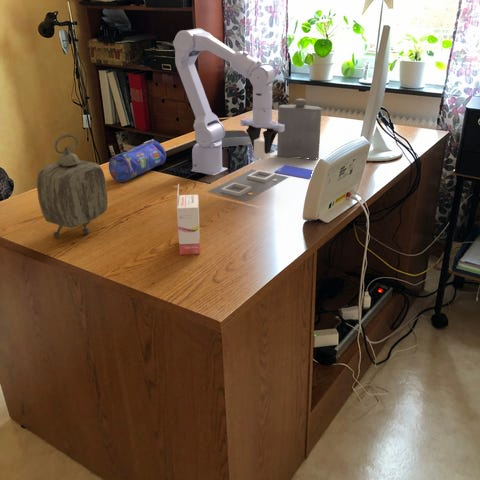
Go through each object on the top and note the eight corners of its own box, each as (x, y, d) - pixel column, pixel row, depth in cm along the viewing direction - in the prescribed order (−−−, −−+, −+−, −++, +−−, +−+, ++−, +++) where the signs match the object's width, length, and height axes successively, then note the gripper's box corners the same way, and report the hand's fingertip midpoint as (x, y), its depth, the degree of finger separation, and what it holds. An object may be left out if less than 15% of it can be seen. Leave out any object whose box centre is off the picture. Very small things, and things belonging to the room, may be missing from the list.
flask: (320, 155, 192) (323, 98, 183) (317, 160, 187) (320, 102, 178) (279, 152, 196) (280, 96, 187) (275, 156, 191) (276, 99, 182)
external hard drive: (253, 147, 203) (253, 137, 202) (203, 151, 200) (203, 140, 198) (245, 138, 215) (245, 128, 213) (197, 141, 211) (197, 131, 209)
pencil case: (148, 162, 187) (146, 135, 183) (169, 165, 184) (167, 138, 179) (107, 181, 170) (104, 152, 165) (129, 185, 166) (126, 155, 162)
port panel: (207, 192, 160) (207, 188, 159) (251, 170, 177) (251, 166, 177) (246, 202, 152) (246, 197, 152) (288, 178, 170) (288, 174, 170)
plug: (253, 157, 166) (253, 140, 164) (260, 154, 169) (260, 137, 167) (263, 159, 165) (263, 141, 162) (270, 156, 168) (270, 138, 165)
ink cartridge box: (200, 254, 124) (198, 195, 118) (179, 255, 124) (175, 196, 117) (200, 238, 132) (197, 181, 125) (179, 239, 132) (176, 182, 125)
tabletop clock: (88, 218, 143) (75, 125, 132) (114, 225, 139) (102, 130, 128) (45, 239, 132) (27, 139, 121) (72, 247, 128) (55, 145, 117)
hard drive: (274, 171, 174) (309, 177, 168) (285, 164, 180) (319, 170, 174) (274, 175, 174) (309, 182, 169) (285, 168, 181) (319, 175, 175)
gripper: (234, 107, 161) (235, 151, 167) (276, 112, 154) (275, 158, 159) (247, 102, 166) (247, 145, 172) (288, 108, 159) (287, 152, 165)
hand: (261, 151), depth 166 cm, fingers closed on plug, 4 cm apart
